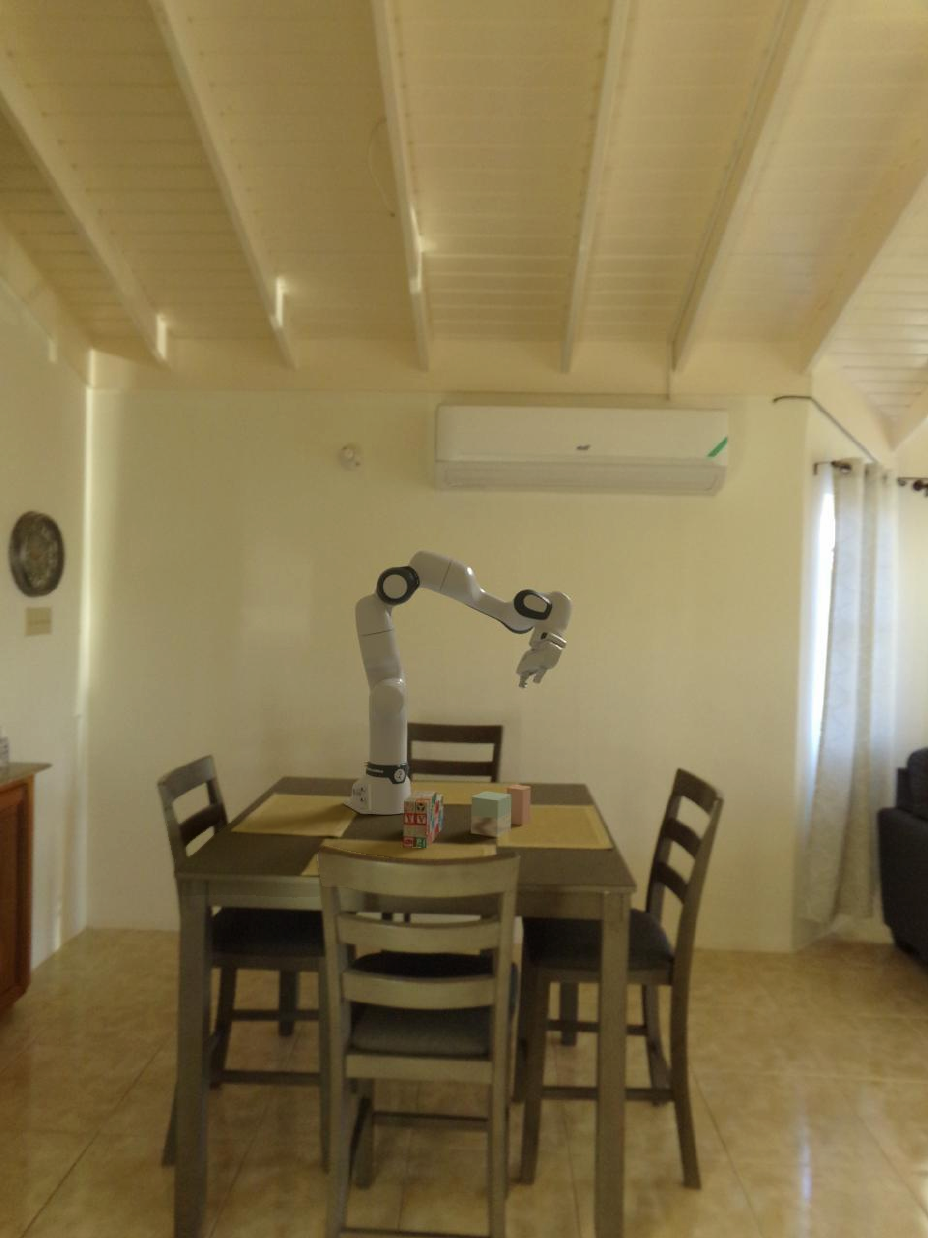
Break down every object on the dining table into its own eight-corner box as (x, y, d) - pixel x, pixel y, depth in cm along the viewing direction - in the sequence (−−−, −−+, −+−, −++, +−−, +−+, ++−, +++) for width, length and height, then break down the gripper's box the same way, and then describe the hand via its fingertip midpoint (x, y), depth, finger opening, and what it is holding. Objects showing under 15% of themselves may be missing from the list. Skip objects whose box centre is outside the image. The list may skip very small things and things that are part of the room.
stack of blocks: (421, 826, 260) (421, 782, 259) (443, 828, 259) (444, 783, 258) (402, 848, 239) (403, 800, 238) (426, 849, 237) (427, 801, 237)
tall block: (506, 823, 265) (506, 787, 264) (514, 819, 269) (514, 784, 268) (522, 825, 262) (522, 790, 262) (530, 821, 266) (530, 786, 266)
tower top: (471, 815, 253) (471, 796, 253) (485, 809, 260) (485, 791, 260) (497, 819, 249) (498, 800, 249) (510, 812, 256) (511, 794, 256)
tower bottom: (471, 833, 253) (471, 815, 253) (485, 827, 260) (485, 809, 260) (497, 837, 249) (497, 819, 249) (510, 831, 256) (511, 813, 256)
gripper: (520, 645, 284) (504, 685, 279) (551, 631, 265) (535, 674, 260) (537, 654, 285) (522, 695, 280) (569, 641, 267) (553, 684, 262)
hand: (528, 685), depth 270 cm, fingers open, 8 cm apart
